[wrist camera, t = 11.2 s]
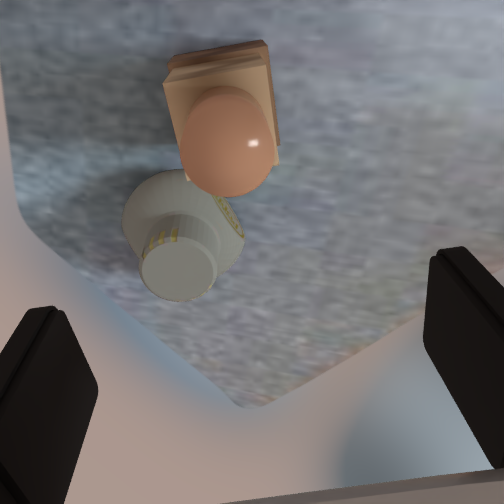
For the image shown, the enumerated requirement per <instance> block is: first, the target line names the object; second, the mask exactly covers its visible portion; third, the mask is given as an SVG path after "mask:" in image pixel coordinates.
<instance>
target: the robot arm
mask: <svg viewBox="0 0 504 504" xmlns="http://www.w3.org/2000/svg"><path fill="white" fill-rule="evenodd" d="M423 342H424V346H425V349H426V351H427V353H428V355H429V357H430V358H431V360H432V362H433V364H434V365H435V367H436V369H437V371H438V373H439V374H440V376H441V377H442V379H443V381H444V383H445V385H446V386H447V388H448V390H449V392H450V394H451V395H452V397H453V399H454V401H455V402H456V404H457V406H458V408H459V409H460V411H461V413H462V415H463V416H464V418H465V420H466V422H467V424H468V425H469V427H470V429H471V431H472V432H473V434H474V436H475V437H476V439H477V441H478V443H479V445H480V446H481V448H482V450H483V452H484V453H485V455H486V457H487V459H488V460H489V462H490V464H491V465H492V466H493V468H494V469H492V470H483V471H475V472H465V473H456V474H447V475H438V476H430V477H422V478H414V479H407V480H399V481H391V482H383V483H375V484H368V485H359V486H352V487H344V488H336V489H328V490H322V491H313V492H305V493H298V494H290V495H283V496H275V497H268V498H260V499H252V500H245V501H237V502H230V503H223V504H504V287H503V286H502V285H501V284H500V283H499V282H498V281H497V280H496V279H495V278H494V277H493V276H492V275H491V274H490V273H489V272H488V270H487V269H486V268H485V267H484V266H483V265H482V264H481V263H480V262H479V261H478V260H477V259H476V258H475V257H474V256H473V255H472V254H471V253H470V252H469V251H468V250H467V249H466V248H465V247H463V246H460V247H453V248H446V249H440V250H438V252H437V254H436V256H432V257H431V259H430V263H429V275H428V286H427V297H426V308H425V321H424V331H423ZM97 396H98V385H97V382H96V380H95V377H94V375H93V373H92V371H91V369H90V367H89V364H88V362H87V360H86V358H85V356H84V353H83V351H82V349H81V347H80V345H79V343H78V340H77V338H76V336H75V334H74V332H73V330H72V327H71V326H70V323H69V321H68V319H67V316H66V314H65V313H64V312H63V311H62V310H58V309H57V308H56V307H55V306H46V307H39V308H32V309H29V310H28V311H27V312H26V313H25V315H24V317H23V318H22V320H21V321H20V323H19V325H18V326H17V328H16V329H15V331H14V333H13V334H12V336H11V337H10V339H9V341H8V342H7V344H6V345H5V347H4V349H3V350H2V352H1V353H0V504H64V501H65V498H66V495H67V492H68V489H69V486H70V482H71V479H72V476H73V473H74V470H75V466H76V463H77V460H78V457H79V454H80V451H81V448H82V444H83V441H84V438H85V435H86V432H87V429H88V425H89V422H90V419H91V416H92V413H93V409H94V406H95V403H96V400H97Z"/></svg>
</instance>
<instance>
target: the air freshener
mask: <svg viewBox="0 0 504 504" xmlns="http://www.w3.org/2000/svg"><path fill="white" fill-rule="evenodd" d="M121 224H122V229H123V232H124V234H125V237H126V239H127V241H128V243H129V244H130V246H131V248H132V249H133V251H134V252H135V254H136V255H137V256H138V258H139V259H140V261H139V274H140V277H141V279H142V281H143V283H144V285H145V286H146V287H147V288H148V289H149V290H150V291H151V292H152V293H153V294H155V295H157V296H158V297H160V298H163V299H166V300H169V301H176V302H179V301H190V300H192V299H195V298H199V297H201V296H202V295H203V294H204V293H206V292H208V291H209V290H210V289H211V286H212V284H214V282H215V280H216V277H218V276H220V275H221V274H223V273H224V272H226V271H227V270H228V269H229V268H230V267H231V266H232V265H233V264H234V263H235V262H236V260H237V259H238V257H239V256H240V254H241V252H242V249H243V247H244V244H245V240H246V238H245V234H244V231H243V229H242V227H241V225H240V223H239V221H238V219H237V217H236V215H235V213H234V212H233V210H232V208H231V206H230V205H229V203H228V202H227V200H226V199H225V197H220V196H215V195H212V194H209V193H207V192H205V191H203V190H201V189H200V188H199V187H197V186H196V185H195V184H194V183H193V182H192V181H187V178H186V175H185V171H184V169H174V170H169V171H164V172H161V173H158V174H156V175H153V176H152V177H150V178H148V179H147V180H145V181H144V182H142V183H141V184H140V185H139V186H138V187H137V188H136V189H135V190H134V191H133V193H132V194H131V195H130V197H129V199H128V201H127V202H126V204H125V207H124V211H123V214H122V222H121Z"/></svg>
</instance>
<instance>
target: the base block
mask: <svg viewBox="0 0 504 504" xmlns="http://www.w3.org/2000/svg"><path fill="white" fill-rule="evenodd" d="M256 53H259V55H260V56H261V58H262V59H263V61H264V62H265V64H266V68H267V76H268V84H269V91H270V99H271V106H272V114H273V121H274V129H275V136H276V144H277V146H279V145H280V139H279V131H278V123H277V116H276V108H275V100H274V92H273V84H272V77H271V69H270V61H269V53H268V46H267V44H266V43H265V42H264V41H263V40H257V41H252V42H246V43H241V44H235V45H230V46H224V47H219V48H214V49H208V50H203V51H197V52H192V53H186V54H181V55H175V56H173V58H172V59H171V60H170V61H169V62H168V63H167V66H168V70H169V74H170V72H171V71H172V69H174V68H179V67H185V66H190V65H196V64H201V63H207V62H212V61H218V60H223V59H229V58H234V57H240V56H245V55H251V54H256Z"/></svg>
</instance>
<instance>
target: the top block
mask: <svg viewBox="0 0 504 504" xmlns="http://www.w3.org/2000/svg"><path fill="white" fill-rule="evenodd" d="M219 86H233V87H237V88H240V89H243V90H245V91H246V92H248V93H249V94H251V95H252V96H253V97H254V98H255V99H256V100H257V101H258V103H259V104H260V106H261V107H262V109H263V112H264V114H265V117H266V120H267V123H268V126H269V129H270V132H271V135H272V138H273V141H274V148H275V154H274V161H273V165H272V166H277V165H279V159H278V151H277V144H276V136H275V129H274V121H273V114H272V106H271V99H270V91H269V84H268V76H267V68H266V64H265V62H264V61H263V59H262V58H261V56H260V55H259V53H256V54H251V55H245V56H240V57H234V58H229V59H223V60H218V61H212V62H207V63H201V64H196V65H190V66H185V67H179V68H174V69H172V71H171V72H170V74H169V75H168V77H167V78H166V79H165V81H164V82H163V87H164V91H165V95H166V99H167V103H168V107H169V111H170V115H171V119H172V123H173V127H174V131H175V135H176V139H177V143H178V147H179V151H180V142H181V138H182V135H183V131H184V128H185V124H186V121H187V118H188V114H189V111H190V109H191V107H192V105H193V103H194V102H195V101H196V99H197V98H198V97H199V96H200V95H202V94H203V93H204V92H206V91H208V90H209V89H212V88H215V87H219ZM184 171H185V170H184ZM185 175H186V178H187V181H191V180H190V178H189V177H188V176H187V174H186V172H185Z"/></svg>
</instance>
